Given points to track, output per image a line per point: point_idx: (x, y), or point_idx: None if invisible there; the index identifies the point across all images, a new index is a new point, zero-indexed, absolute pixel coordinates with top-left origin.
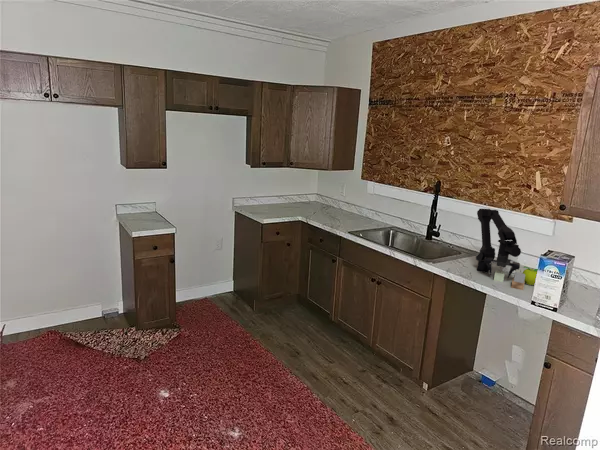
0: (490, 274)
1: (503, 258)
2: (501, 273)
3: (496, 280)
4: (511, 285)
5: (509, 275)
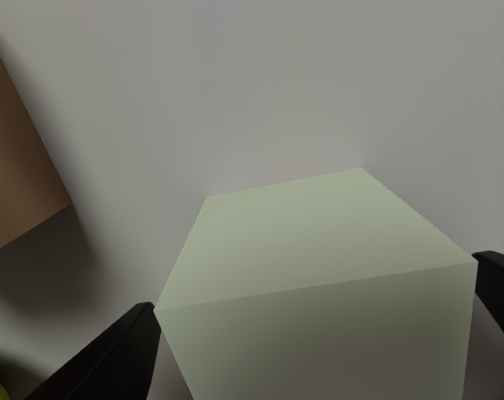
0: (498, 254)
1: None
2: (257, 322)
3: (315, 180)
4: (3, 95)
5: (73, 365)
